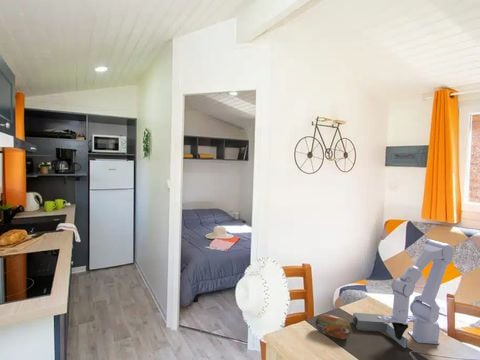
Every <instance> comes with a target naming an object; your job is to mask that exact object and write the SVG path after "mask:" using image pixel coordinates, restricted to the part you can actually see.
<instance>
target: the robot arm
mask: <svg viewBox="0 0 480 360" xmlns="http://www.w3.org/2000/svg"><path fill="white" fill-rule="evenodd" d="M454 254H455V251H454V248H453V246H452V245H451V244H449V243H444V242H441V241H437V240H433V239H431V238H428V239H426V240H425V241H424V242H423V245H422V252H421V254H420V255H419V257H418V258H417V259H416V260H415V263H414V264H413V265H409V266H408V267H407V268H406V269H405V271H404V272H403V273H402V274H401V275H400V276H399V277H398V278H394V280H393V281H392V283H391V289H392V295H393V302H392V314H390V315H387V316H384V317H383V322H384V323H385V324H387V323H390V324H391V325H392V326H393V328H394V331H395V337H396V338H397V339H398V340H401V338H402V335H404V333H405V332H406V330H407V329H408V328H409V323H413V324H412V330H408V331H407V333H408V334H410V336H411V337H412V338H413V339H414V340H415V342H417V343H420V344H430V345H431V344H433V345H434V344H435V345H440V342H439V339H440V325H439V323H438V319H439V317H440V309H441V307H440V306H439V304H438V303H437V301H436V298H437V296H438V292H439V290H440V288H441V287H440V286H441V284H442V281H443V279H444V276H445V273H446V270H447V268H448V265H451V262H452V260H453V257H454ZM431 262H432V264H431ZM429 264H431V267H430V269H429V273H428V276H427V279H426V281H425V285H424V287H423V289H422V292H421V294H419V295H417V296H415V297H414V298H413V300H412V302H411V303H410V296H412V295H413V294H414V291H415V288H416V284H417V283H418V282H419V280H420V279H421V278H422V276H423V272H422V271H423V270H424V269H425V268H426V267H428V265H429ZM409 310H410V312H411V313H412V315H409Z"/></svg>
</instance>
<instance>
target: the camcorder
mask: <svg viewBox="0 0 480 360" xmlns="http://www.w3.org/2000/svg"><path fill="white" fill-rule="evenodd" d="M383 317H385V315H384V314H379V313H365V312H353V313H352V319H351V321H352V325H354V326H355V328H356V329H357V330H358V331H366V332H367V331H368V332H370V331H371V332H381V333H384V332H385V333H386V331H387V324H385V323H384V322H383ZM389 324H390V325H391V323H389Z"/></svg>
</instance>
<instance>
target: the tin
mask: <svg viewBox="0 0 480 360" xmlns="http://www.w3.org/2000/svg"><path fill="white" fill-rule="evenodd" d="M315 326H316V329H317V330H318V331H319V333H321V334H323V335H327V336H329V337H333V338H337V339H339V340H347V339H348V338H350V336H351V334H352V333H351V332H352V327H351V326H352V325H351V324H350V323H349V321H348V320H347V319H346V318H343V317H339V316H335V315H332V314H328V313H321V314H319V315H318V316H317V317H316V319H315Z"/></svg>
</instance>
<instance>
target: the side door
mask: <svg viewBox="0 0 480 360" xmlns="http://www.w3.org/2000/svg"><path fill="white" fill-rule="evenodd" d="M385 333H387V335H389V336H390V337H391V339H393V340H394V341H395V342H397V344H399V345H400V346H401V347H402V348H404V349H406V348H407V346H408V339H409V338H408V337H406V336H405V335H404V334H403V335H402V338H401V340H398V339H397V338H396V337H395V331H394V328H393V325H392V324H391V323H390V324H389V323H387V331H386V332H385Z"/></svg>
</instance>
